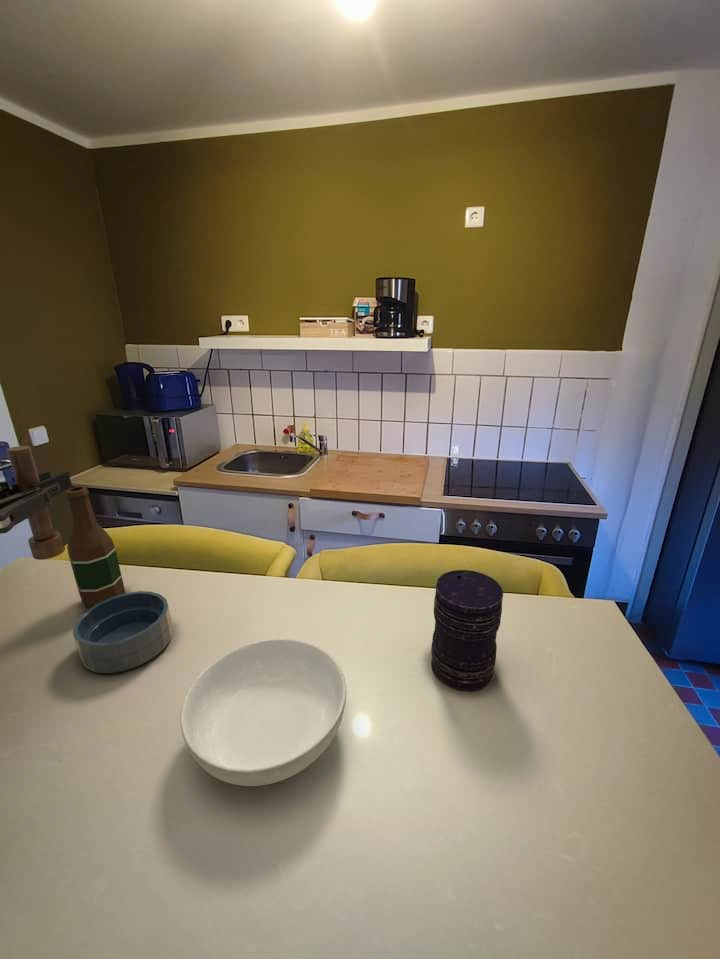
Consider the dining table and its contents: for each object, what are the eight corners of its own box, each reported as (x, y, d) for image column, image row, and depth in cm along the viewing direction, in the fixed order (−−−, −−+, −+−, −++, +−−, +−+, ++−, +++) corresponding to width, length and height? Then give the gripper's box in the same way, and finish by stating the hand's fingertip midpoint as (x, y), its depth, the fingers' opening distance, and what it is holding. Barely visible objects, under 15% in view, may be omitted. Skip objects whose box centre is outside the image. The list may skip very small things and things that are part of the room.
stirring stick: (26, 556, 70) (-7, 450, 63) (53, 544, 73) (24, 443, 67) (44, 562, 68) (11, 453, 62) (71, 549, 72) (42, 445, 66)
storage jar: (506, 684, 65) (518, 601, 60) (448, 699, 62) (455, 614, 57) (472, 640, 74) (480, 565, 69) (420, 652, 71) (424, 575, 66)
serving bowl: (368, 692, 64) (367, 655, 61) (304, 843, 45) (300, 799, 43) (248, 658, 70) (244, 623, 68) (150, 778, 52) (139, 736, 50)
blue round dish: (62, 661, 70) (52, 631, 68) (133, 611, 82) (127, 584, 80) (123, 686, 65) (115, 655, 63) (190, 629, 77) (185, 601, 75)
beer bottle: (124, 606, 84) (96, 492, 75) (78, 616, 81) (44, 499, 73) (128, 585, 91) (103, 479, 82) (86, 593, 88) (56, 484, 80)
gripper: (-143, 570, 52) (23, 497, 74) (-30, 579, 50) (106, 501, 72) (-169, 515, 50) (10, 456, 72) (-51, 522, 48) (97, 459, 70)
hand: (58, 479), depth 72 cm, fingers closed on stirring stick, 3 cm apart
